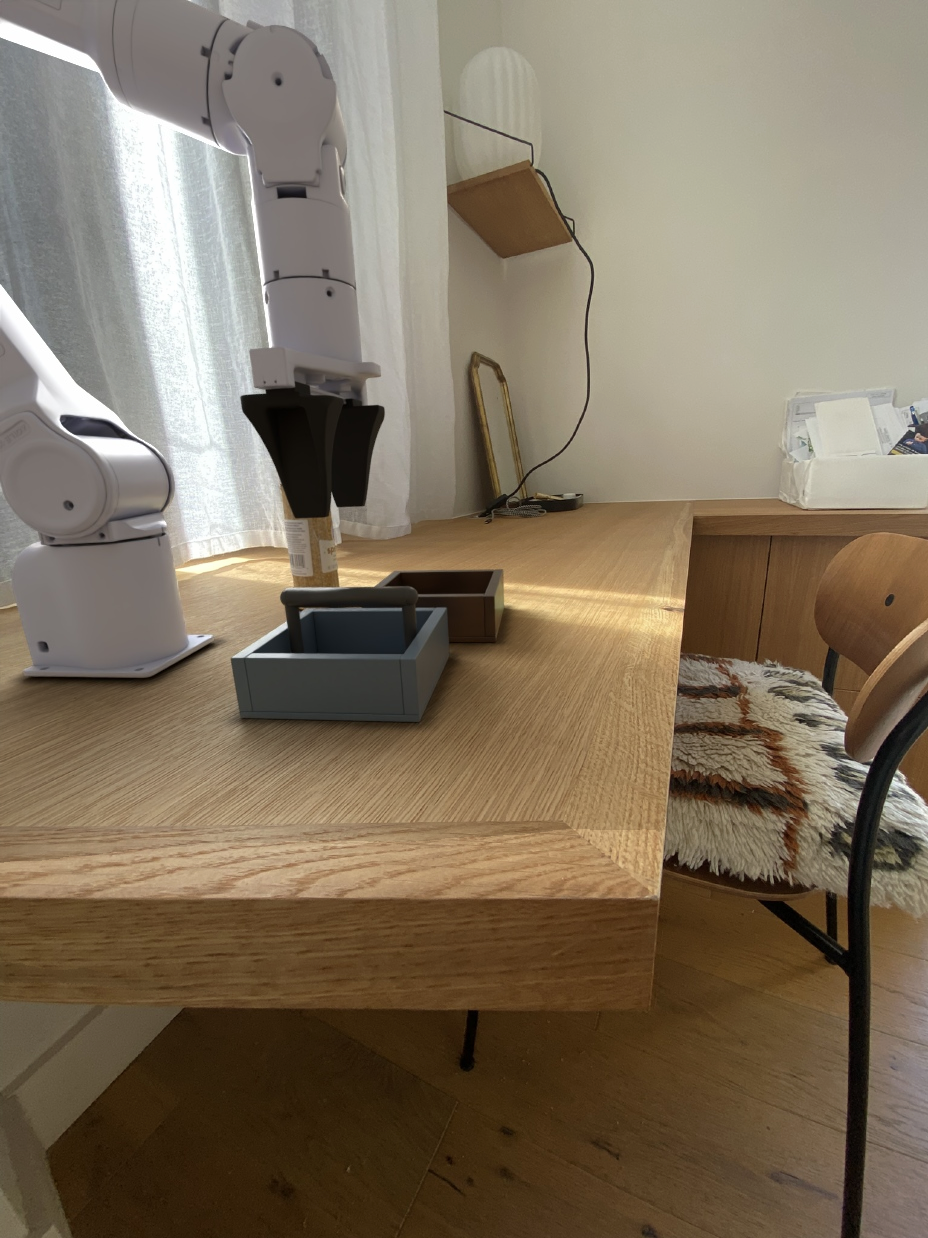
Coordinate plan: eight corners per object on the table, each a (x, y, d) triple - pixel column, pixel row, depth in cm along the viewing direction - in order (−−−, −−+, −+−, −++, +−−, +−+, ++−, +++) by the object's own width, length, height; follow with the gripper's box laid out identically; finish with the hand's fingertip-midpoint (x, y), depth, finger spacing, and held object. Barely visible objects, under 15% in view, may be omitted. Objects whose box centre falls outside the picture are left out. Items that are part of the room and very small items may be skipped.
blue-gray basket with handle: (239, 718, 30) (221, 610, 29) (311, 655, 40) (301, 571, 38) (419, 722, 29) (411, 609, 27) (449, 656, 38) (445, 569, 37)
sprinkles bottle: (349, 605, 53) (335, 459, 49) (302, 614, 51) (283, 461, 47) (332, 597, 57) (317, 460, 53) (288, 604, 54) (269, 462, 51)
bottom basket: (364, 641, 42) (360, 597, 41) (396, 607, 52) (393, 570, 51) (495, 642, 41) (494, 596, 40) (504, 607, 50) (503, 569, 49)
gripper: (329, 243, 27) (355, 521, 31) (400, 314, 41) (412, 501, 45) (197, 257, 28) (238, 525, 32) (309, 321, 42) (328, 503, 46)
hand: (333, 511), depth 39 cm, fingers open, 7 cm apart
